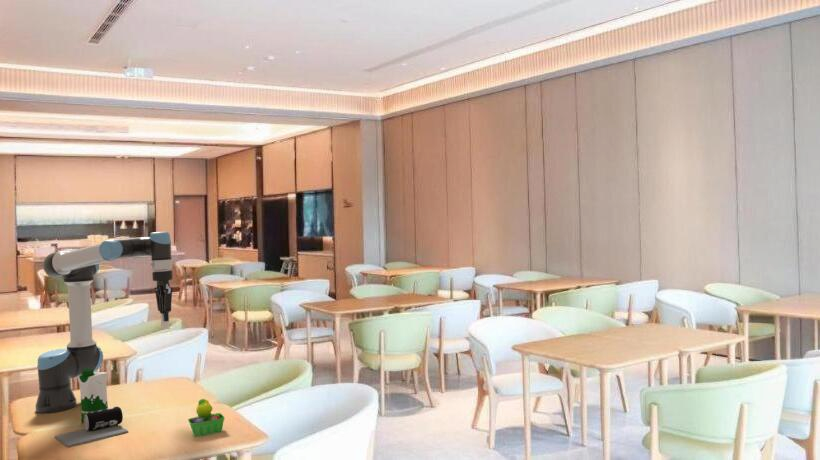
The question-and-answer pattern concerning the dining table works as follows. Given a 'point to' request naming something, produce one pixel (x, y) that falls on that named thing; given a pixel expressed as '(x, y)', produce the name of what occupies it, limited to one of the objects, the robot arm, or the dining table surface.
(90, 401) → the milk carton
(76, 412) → the dining table surface
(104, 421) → the beverage can
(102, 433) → the mat
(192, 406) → the dining table surface
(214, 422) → the fruit basket
